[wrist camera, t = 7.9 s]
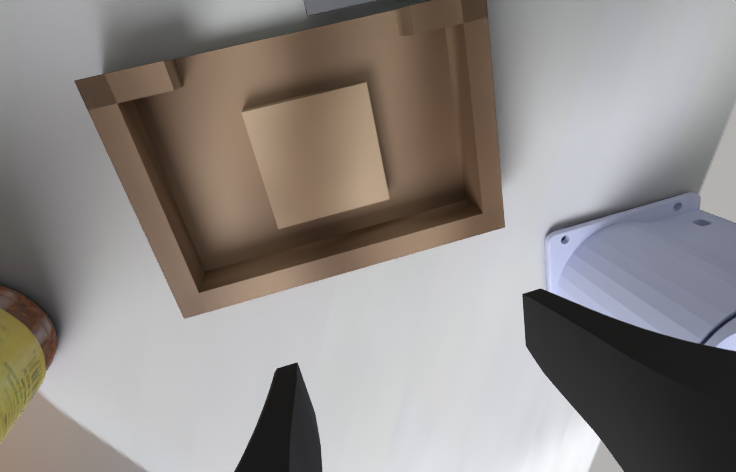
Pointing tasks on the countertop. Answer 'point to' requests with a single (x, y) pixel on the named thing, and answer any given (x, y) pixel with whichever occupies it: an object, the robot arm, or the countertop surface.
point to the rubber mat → (330, 5)
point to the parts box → (307, 150)
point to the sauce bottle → (22, 354)
